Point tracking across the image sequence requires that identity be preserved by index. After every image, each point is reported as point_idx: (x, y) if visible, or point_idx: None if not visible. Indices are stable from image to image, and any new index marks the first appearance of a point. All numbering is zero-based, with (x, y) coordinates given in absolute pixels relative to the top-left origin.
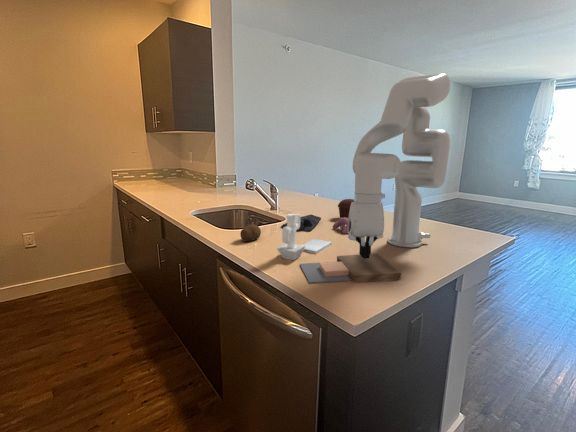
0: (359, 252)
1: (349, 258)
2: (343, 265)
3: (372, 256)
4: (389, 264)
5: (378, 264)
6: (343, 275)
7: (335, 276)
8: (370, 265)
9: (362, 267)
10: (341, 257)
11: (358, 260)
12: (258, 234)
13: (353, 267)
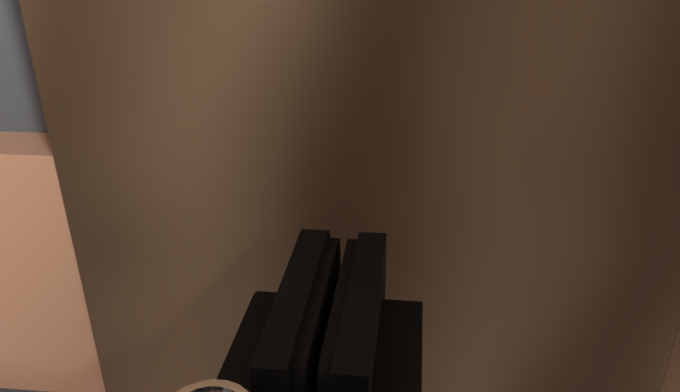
0: (254, 294)
1: (185, 70)
2: (64, 279)
3: (599, 44)
4: (645, 366)
5: (503, 340)
6: None
7: None
8: None
9: None
10: (68, 4)
11: (296, 170)
12: None
13: (166, 358)
